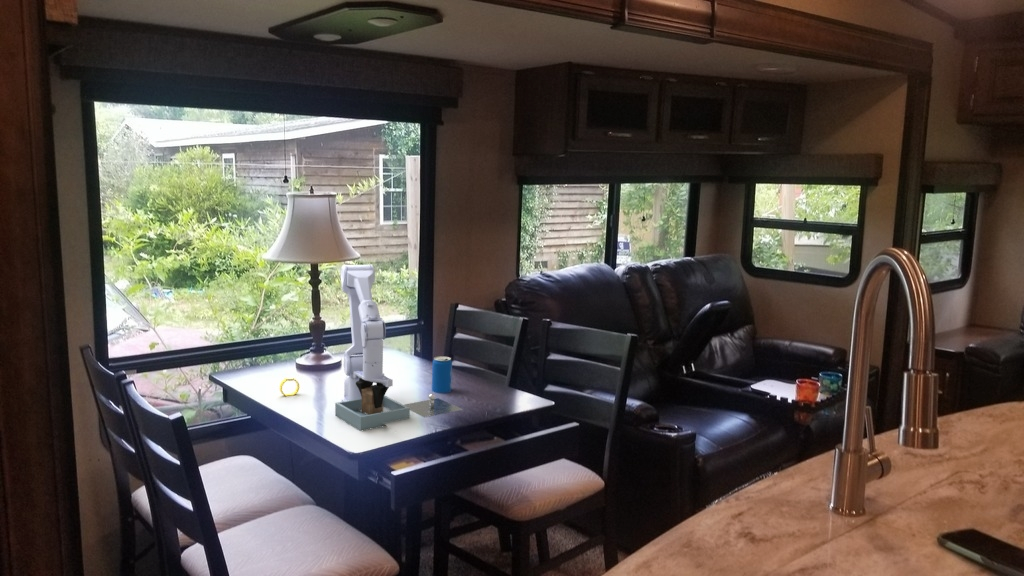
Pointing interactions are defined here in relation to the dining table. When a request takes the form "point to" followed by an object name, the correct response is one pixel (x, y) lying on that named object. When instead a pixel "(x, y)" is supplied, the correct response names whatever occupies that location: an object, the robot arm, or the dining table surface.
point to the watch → (289, 380)
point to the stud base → (432, 407)
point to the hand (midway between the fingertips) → (372, 405)
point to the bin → (363, 421)
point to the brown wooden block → (369, 402)
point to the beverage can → (441, 374)
